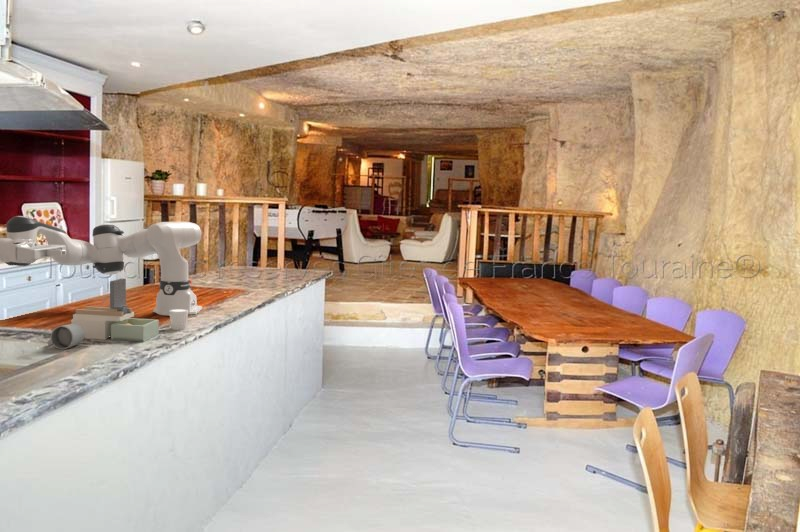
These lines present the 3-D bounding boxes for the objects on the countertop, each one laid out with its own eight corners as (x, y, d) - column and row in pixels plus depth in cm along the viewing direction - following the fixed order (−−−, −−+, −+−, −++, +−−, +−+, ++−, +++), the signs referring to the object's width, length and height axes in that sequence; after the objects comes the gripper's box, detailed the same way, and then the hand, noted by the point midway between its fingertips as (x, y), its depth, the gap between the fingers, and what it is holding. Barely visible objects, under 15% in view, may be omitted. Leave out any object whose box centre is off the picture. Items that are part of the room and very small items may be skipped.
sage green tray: (127, 332, 235) (127, 318, 235) (158, 334, 234) (158, 319, 234) (111, 339, 224) (111, 324, 223) (143, 341, 223) (143, 326, 222)
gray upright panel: (121, 311, 233) (121, 278, 231) (131, 311, 232) (131, 278, 231) (110, 315, 225) (109, 281, 223) (119, 316, 224) (119, 281, 223)
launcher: (90, 330, 237) (90, 305, 236) (135, 333, 235) (135, 307, 234) (71, 337, 225) (71, 310, 224) (118, 340, 223) (118, 313, 222)
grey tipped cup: (87, 344, 216) (86, 321, 216) (72, 350, 208) (72, 326, 207) (56, 343, 217) (55, 320, 216) (41, 348, 209) (40, 325, 208)
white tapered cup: (182, 330, 242) (182, 312, 242) (165, 329, 244) (165, 311, 243) (191, 327, 249) (191, 309, 248) (175, 325, 250) (175, 308, 250)
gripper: (45, 256, 245) (80, 258, 244) (8, 262, 224) (46, 264, 223) (44, 240, 244) (79, 241, 243) (7, 244, 224) (46, 246, 223)
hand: (63, 252), depth 233 cm, fingers closed
